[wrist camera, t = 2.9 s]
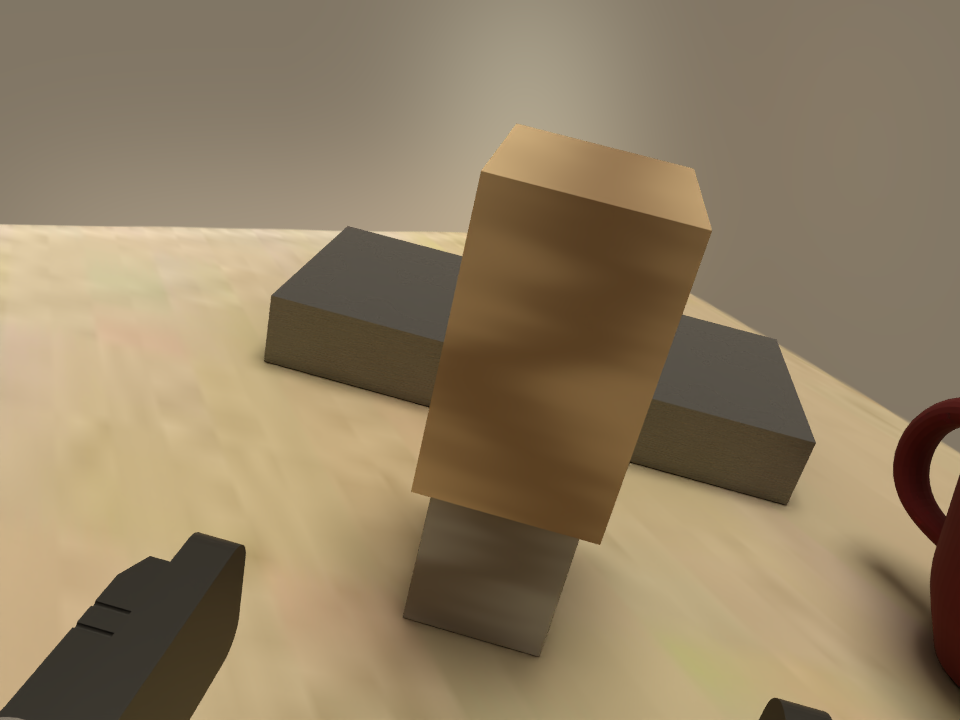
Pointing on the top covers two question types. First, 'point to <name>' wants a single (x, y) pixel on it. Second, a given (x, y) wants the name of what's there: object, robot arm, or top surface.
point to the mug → (934, 523)
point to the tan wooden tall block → (546, 374)
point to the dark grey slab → (420, 337)
